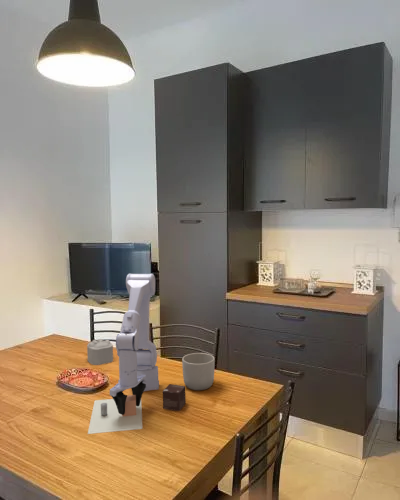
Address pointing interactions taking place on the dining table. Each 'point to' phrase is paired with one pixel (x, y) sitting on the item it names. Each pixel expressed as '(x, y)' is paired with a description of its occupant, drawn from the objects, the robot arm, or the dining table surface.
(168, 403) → the box
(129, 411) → the peach colored cube
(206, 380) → the planter
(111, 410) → the board
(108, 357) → the lumpy-topped squat cylinder
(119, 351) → the robot arm
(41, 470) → the dining table surface
